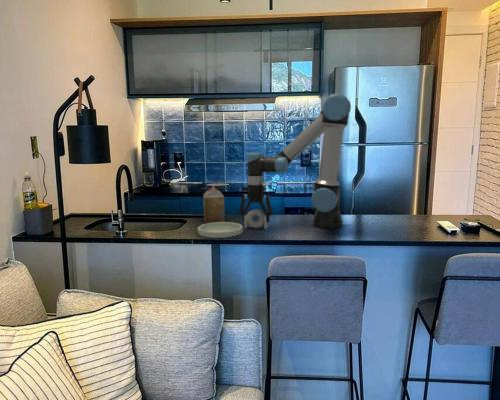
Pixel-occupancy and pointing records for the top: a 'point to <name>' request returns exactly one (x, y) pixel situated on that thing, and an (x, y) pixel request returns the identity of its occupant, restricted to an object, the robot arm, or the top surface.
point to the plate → (220, 229)
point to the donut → (251, 214)
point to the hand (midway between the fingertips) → (256, 227)
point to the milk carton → (213, 206)
